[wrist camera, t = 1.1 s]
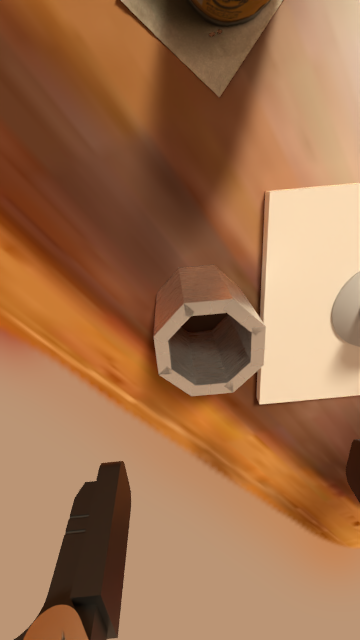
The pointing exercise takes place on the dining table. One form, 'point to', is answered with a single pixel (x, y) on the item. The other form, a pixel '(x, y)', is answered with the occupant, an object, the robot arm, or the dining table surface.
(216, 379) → the collar
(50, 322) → the dining table surface
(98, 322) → the dining table surface
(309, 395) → the duct flange
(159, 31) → the condiment
